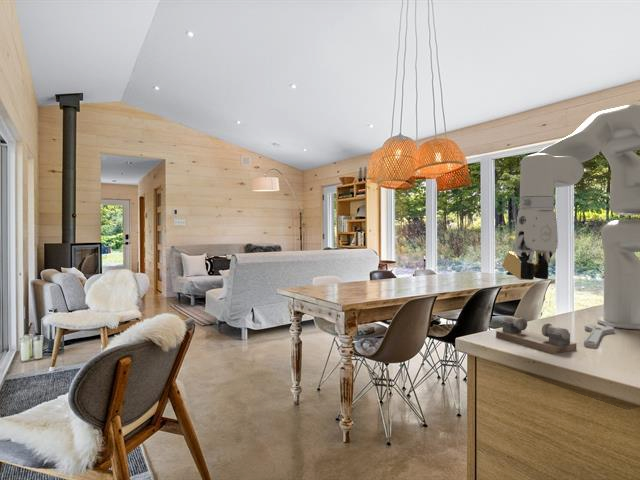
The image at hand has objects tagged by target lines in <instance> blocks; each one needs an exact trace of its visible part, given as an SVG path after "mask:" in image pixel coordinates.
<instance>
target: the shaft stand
mask: <svg viewBox="0 0 640 480" xmlns="http://www.w3.org/2000/svg"><path fill="white" fill-rule="evenodd" d="M527 328H528V320H527V319H526V318H525V317H519V318H517V317H515V316H514V317H513V316H511V315H510V316H509V315H506V316H505V317H504V318H503V321H502V330H496V333H495V334H496V335H495V336H496V338H499V339H503V340H505V341H509V342H512V343H517V344H519V345H522V344H523V346H527V347H530V348H533V349H537V350H540V351H544V352H547V353H551V354H554V355H555V354H559V353H566V352H570V351H576V350H577V343H576V342H574V341H571V333H570V331H569V329H567V328H562V327H559V326H553V325H552V324H551V323H548V322H546V323H543V325H542V327H541V333H542V334H541V333H538V332H532V331H529V330H526V329H527Z"/></svg>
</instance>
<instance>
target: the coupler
mask: <svg viewBox="0 0 640 480" xmlns="http://www.w3.org/2000/svg"><path fill="white" fill-rule="evenodd" d="M532 263H534V277H535V274H536V272H537V270H538V268H539V266H540V264H539V263H537V260H534V259H533V260H532ZM501 268H503V269H504V270H506V271H507V272H508V273H510V274H512V276H514V277H515V278H517V279H518V280H520V281H526V280H527V281H529V280H528V279H521V263H520V262H519V258H518V256H517V254H516V253H515V252H514V251H508V252H507V253H506V255H505V257H504V261H503V262H502V265H501Z"/></svg>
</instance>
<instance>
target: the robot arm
mask: <svg viewBox="0 0 640 480" xmlns="http://www.w3.org/2000/svg"><path fill="white" fill-rule="evenodd" d="M635 151H640V104H636V103H635V104H627V105H622V106H619V107H614V108H609V109H606V110H601V111H597V112H596V113H593V114H591V116H589V117H588V118H587V119H586V120H585V121H584V122H583V123H582V124H580V125H579V127H578V128H576V130H574V132H572V133H571V134H570V135H568V136H566V137H564V138H562V139H560V140H558V141H556V142H554V143H552V144H551V145H548V146H546V147H544V148H543V149H541V150H539V151H537V152H536V153H533V154H529V155H525V156H523V158H522V159H521V160H520V172H519V173H520V176H519V178H520V179H519V206H518V207H519V210H518V213H517V218H516V223H515V224H516V225H515V237H514V238H515V239H514V242H515V243H514V246H512V247H513V248H512V252H515V253H516V254H517V256H518V258H519V262H520V263H521V279H528V280H527V281H529V280H530V281H533V280H534V278H535V279H540V280H549V279H548V278H549V264H550V263H551V258H552V257H553V255H554V254H555V253H556V251H557V249H558V245H559V244H558V243H559V241H558V237H559V236H558V222H557V215H556V211H555V209H554V208H555V188H564V187H571V186H574V185H576V184H578V183H579V182H580V181H581V180H582V178H583V176H584V166H583V163H585V162H587V161H589V160H592V159H594V158H596V156H597V155H599V153H600V152H601V154H602V155H603V156H604V158H605V159H606V160H607V163H608V165H609V167H610V171H611V173H610V175H611V176H610V191H609V208H610V211H611V212H612V213H613V214H615V215H619V216H640V156H639V155H638V154H637V153H635ZM600 237H601V243H602V249H603V256H604V257H603V259H604V263H603V264H604V266H603V267H604V268H603V269H604V270H603V271H604V272H603V276H604V277H603V311H602V312H603V316H600V317H599V316H598V317H597V319H596V321H597V323H598V324H600V325H603V326H604V325H607V326H611V327H614V328H619V329H627V330H640V257H638V256H637V254H636V253H640V219H635V218H634V219H615V220H611V221H609V222H607V223H605V224H604V225H603V227H602V228H601V233H600ZM534 253H535V255H536V262H537V263H539V264H540V266H539V268H538V270H537V272H536V274H535V276H534V263H532V260H534Z"/></svg>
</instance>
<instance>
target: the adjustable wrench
mask: <svg viewBox="0 0 640 480" xmlns="http://www.w3.org/2000/svg"><path fill="white" fill-rule="evenodd" d="M584 331H586V332H590V333H589V334H588V335H587V336H586V338H585V339H584V340H583V347H584V348H585V347H586V348H590V349H596V348H597V347H598V346H599V343H600V341H601V339H602V337H603V336H604V335H609V334H610V335H611V334H614V333H615V327H611V326H607V325H603V326H596V325H595V324H592V323H590V324H587V325H584Z"/></svg>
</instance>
